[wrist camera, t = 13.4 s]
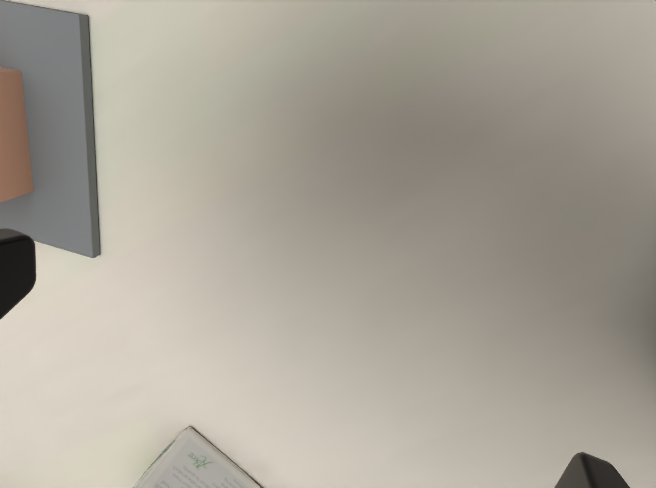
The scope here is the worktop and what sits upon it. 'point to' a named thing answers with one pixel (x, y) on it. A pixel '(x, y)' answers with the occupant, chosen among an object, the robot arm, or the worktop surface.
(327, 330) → the worktop surface
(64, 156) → the rubber mat
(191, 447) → the syrup box
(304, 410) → the worktop surface
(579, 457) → the robot arm
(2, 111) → the salmon pink pillar
